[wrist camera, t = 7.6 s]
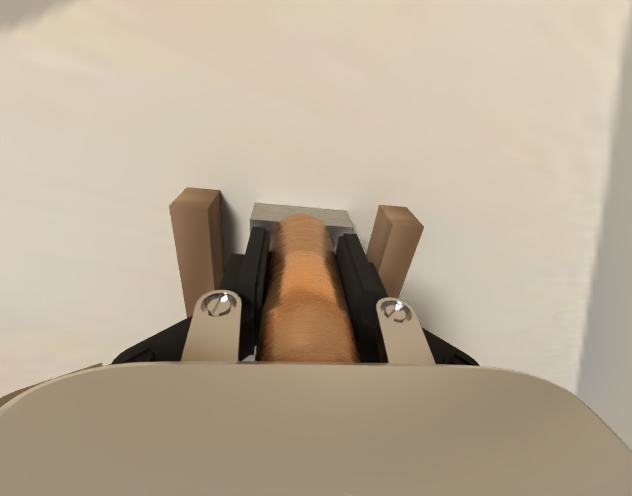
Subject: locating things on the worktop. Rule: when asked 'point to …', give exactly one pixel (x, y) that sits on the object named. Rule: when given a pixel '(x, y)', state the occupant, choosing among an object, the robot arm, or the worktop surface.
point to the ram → (303, 287)
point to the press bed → (207, 246)
